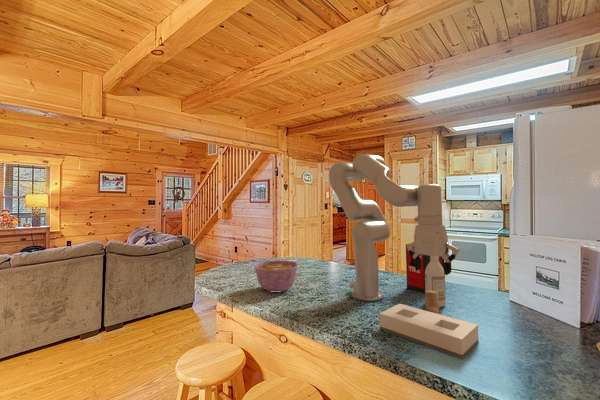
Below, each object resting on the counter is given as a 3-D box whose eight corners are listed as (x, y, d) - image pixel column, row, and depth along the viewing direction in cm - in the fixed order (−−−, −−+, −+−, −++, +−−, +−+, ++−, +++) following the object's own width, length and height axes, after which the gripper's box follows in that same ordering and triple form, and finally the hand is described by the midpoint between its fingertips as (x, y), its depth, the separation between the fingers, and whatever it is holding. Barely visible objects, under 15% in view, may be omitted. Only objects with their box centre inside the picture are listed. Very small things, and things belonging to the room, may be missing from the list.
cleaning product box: (425, 293, 124) (424, 246, 124) (406, 289, 131) (405, 244, 131) (445, 285, 134) (443, 242, 134) (426, 281, 141) (425, 240, 141)
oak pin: (423, 318, 99) (423, 292, 99) (429, 315, 102) (428, 289, 102) (435, 322, 96) (435, 295, 96) (441, 318, 99) (440, 292, 99)
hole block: (462, 359, 74) (461, 339, 74) (380, 329, 92) (379, 313, 92) (478, 342, 82) (478, 324, 82) (399, 318, 100) (399, 303, 100)
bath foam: (449, 305, 110) (448, 252, 110) (438, 309, 107) (436, 254, 107) (433, 300, 116) (432, 249, 116) (421, 303, 113) (420, 251, 113)
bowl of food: (246, 290, 136) (246, 265, 136) (280, 281, 149) (280, 258, 149) (272, 300, 121) (271, 272, 121) (307, 289, 134) (307, 264, 134)
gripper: (400, 221, 102) (402, 270, 102) (452, 222, 90) (455, 278, 89) (411, 219, 107) (413, 266, 107) (462, 220, 95) (464, 273, 94)
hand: (432, 271), depth 98 cm, fingers open, 9 cm apart
